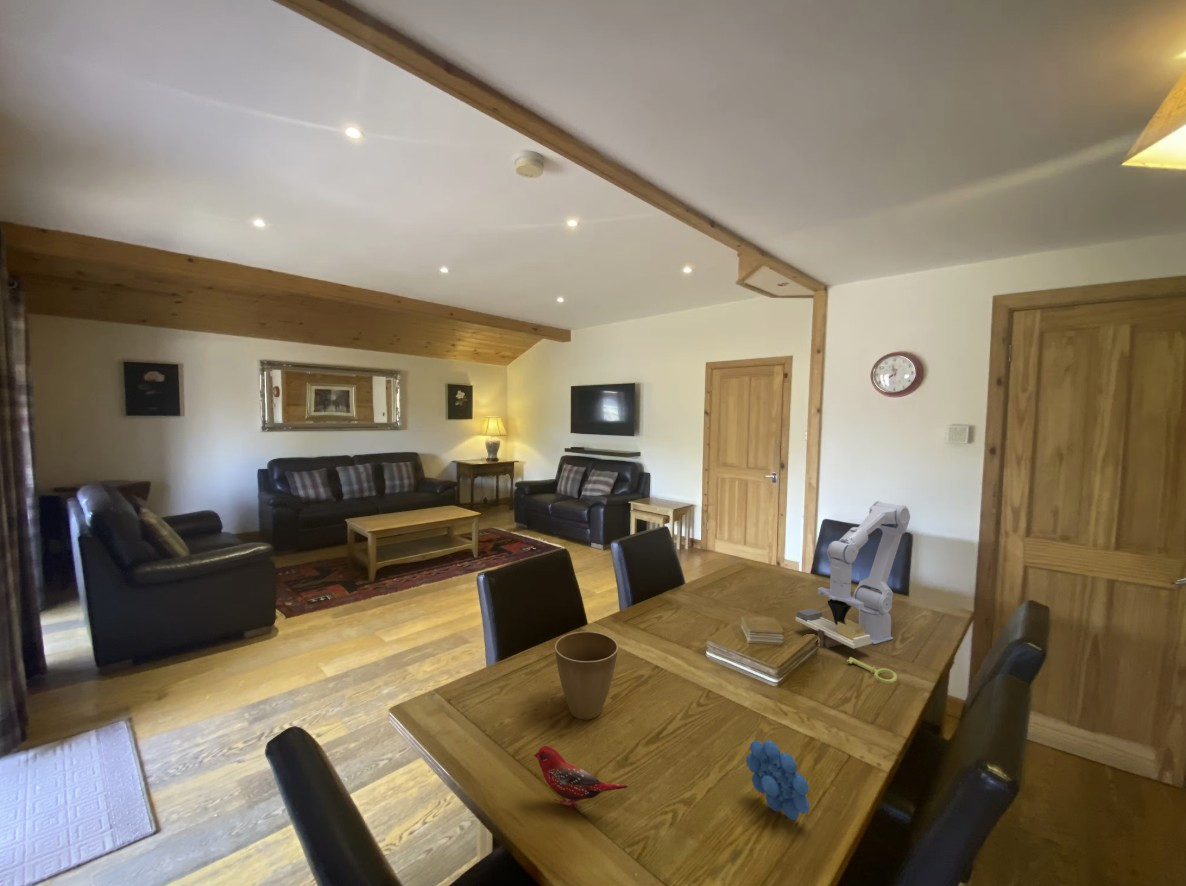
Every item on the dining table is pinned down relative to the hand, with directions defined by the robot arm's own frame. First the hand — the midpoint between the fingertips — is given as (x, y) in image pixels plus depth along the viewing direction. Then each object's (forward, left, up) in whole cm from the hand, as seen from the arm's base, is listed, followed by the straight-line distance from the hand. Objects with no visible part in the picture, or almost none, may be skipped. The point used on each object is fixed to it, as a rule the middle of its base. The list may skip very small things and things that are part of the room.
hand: (838, 624), depth 150 cm
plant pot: (+85, -1, -7) cm, 85 cm away
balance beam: (0, -2, -3) cm, 4 cm away
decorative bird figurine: (+98, +25, -7) cm, 101 cm away
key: (+4, +14, -8) cm, 17 cm away
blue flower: (+67, +40, -7) cm, 78 cm away
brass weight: (0, +4, -2) cm, 5 cm away
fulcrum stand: (0, -2, -7) cm, 8 cm away
